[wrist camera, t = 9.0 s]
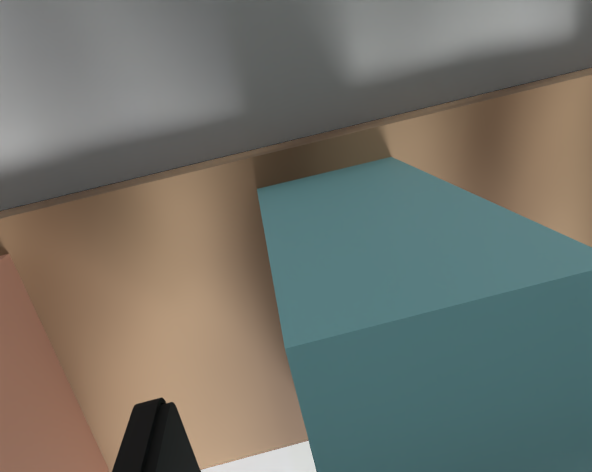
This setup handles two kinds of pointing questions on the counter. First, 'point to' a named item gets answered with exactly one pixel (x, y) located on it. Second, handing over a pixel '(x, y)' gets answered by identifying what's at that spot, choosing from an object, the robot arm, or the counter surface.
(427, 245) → the teal rectangular block
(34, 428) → the salmon pink block
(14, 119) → the counter surface
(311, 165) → the wooden book rack
